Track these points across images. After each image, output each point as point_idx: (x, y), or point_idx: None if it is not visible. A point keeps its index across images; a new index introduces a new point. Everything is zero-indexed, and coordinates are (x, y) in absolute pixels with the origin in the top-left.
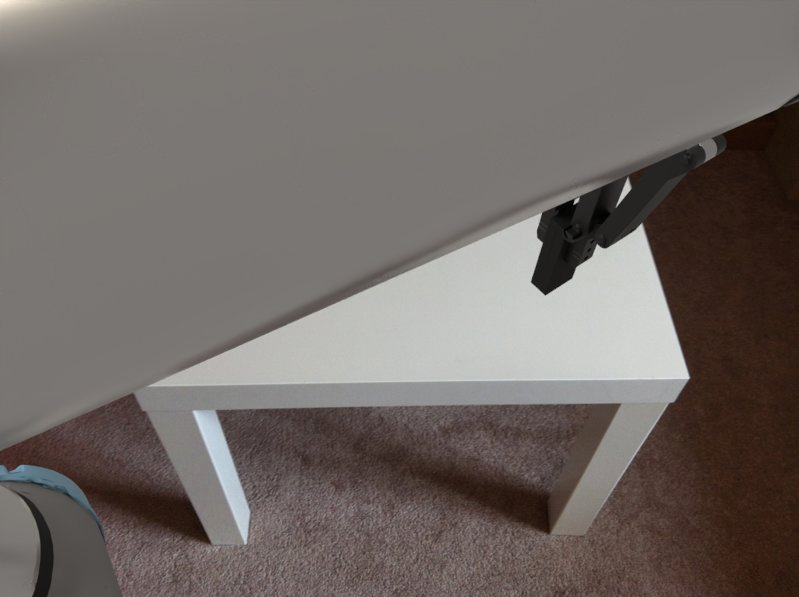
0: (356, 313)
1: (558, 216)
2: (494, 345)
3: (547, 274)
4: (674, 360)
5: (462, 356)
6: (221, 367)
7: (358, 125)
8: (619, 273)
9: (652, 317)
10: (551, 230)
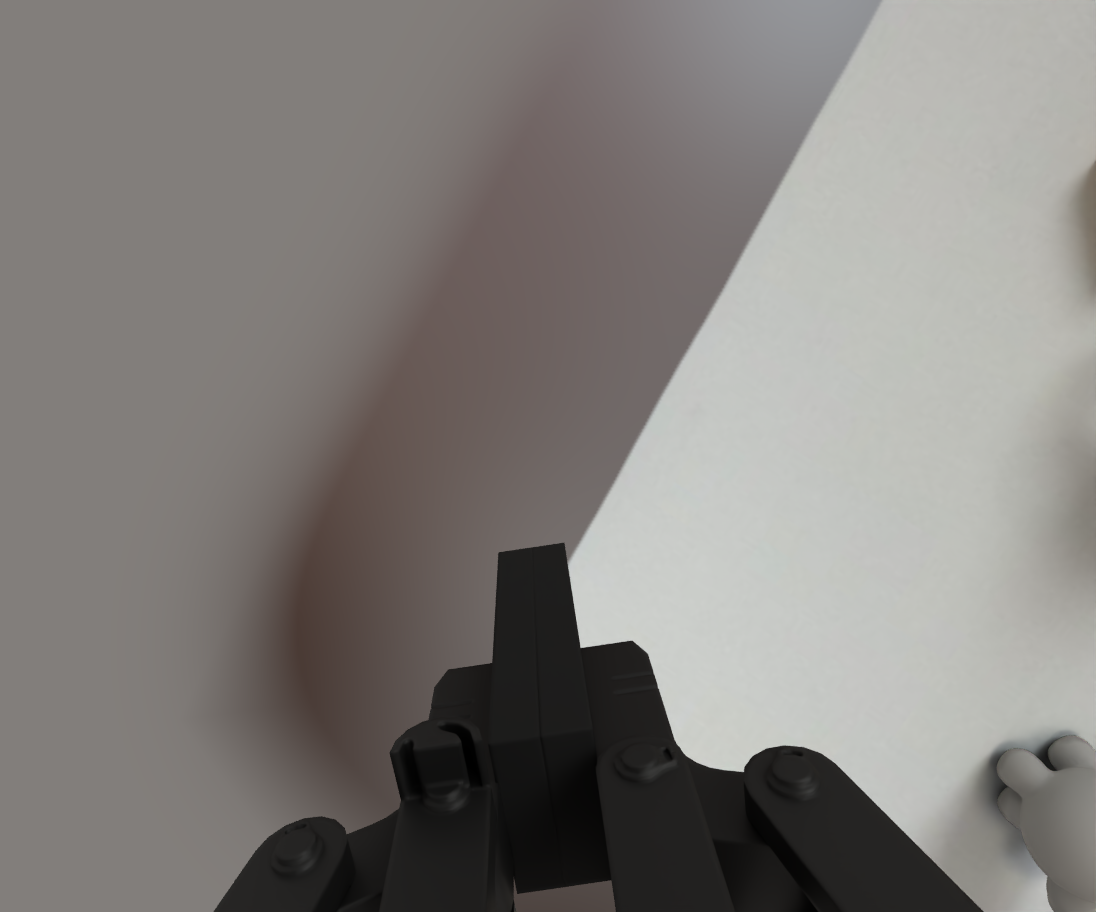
0: (895, 288)
1: (583, 762)
2: (687, 487)
3: (515, 590)
4: None
5: (698, 422)
6: None
7: None
8: None
9: None
10: (564, 696)
